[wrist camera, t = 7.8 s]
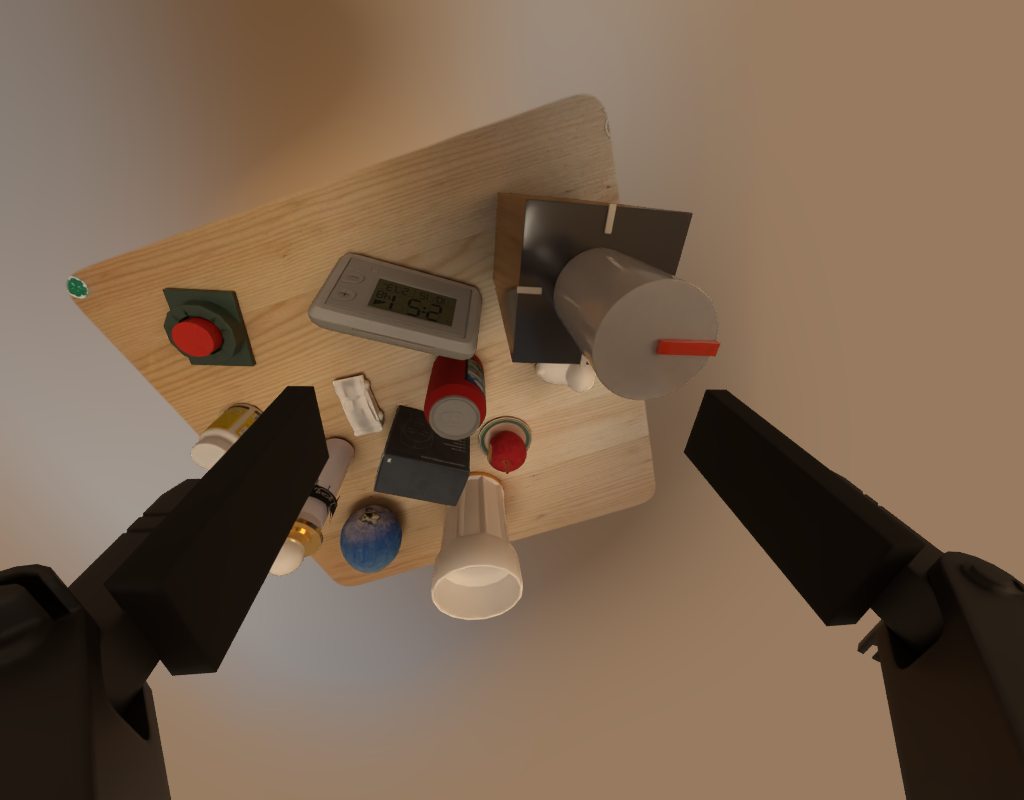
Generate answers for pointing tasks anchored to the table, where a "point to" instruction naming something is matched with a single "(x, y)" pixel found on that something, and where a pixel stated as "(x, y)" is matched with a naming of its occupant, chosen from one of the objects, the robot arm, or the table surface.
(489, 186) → the table surface
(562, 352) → the pillar
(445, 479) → the box
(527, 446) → the apple
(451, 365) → the beverage can
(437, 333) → the digital clock
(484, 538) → the cup
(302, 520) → the perfume bottle
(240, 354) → the button box
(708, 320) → the hob knob
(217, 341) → the button
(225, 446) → the supplement bottle
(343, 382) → the toy car
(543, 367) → the toy creature
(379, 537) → the blue plum
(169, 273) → the table surface
